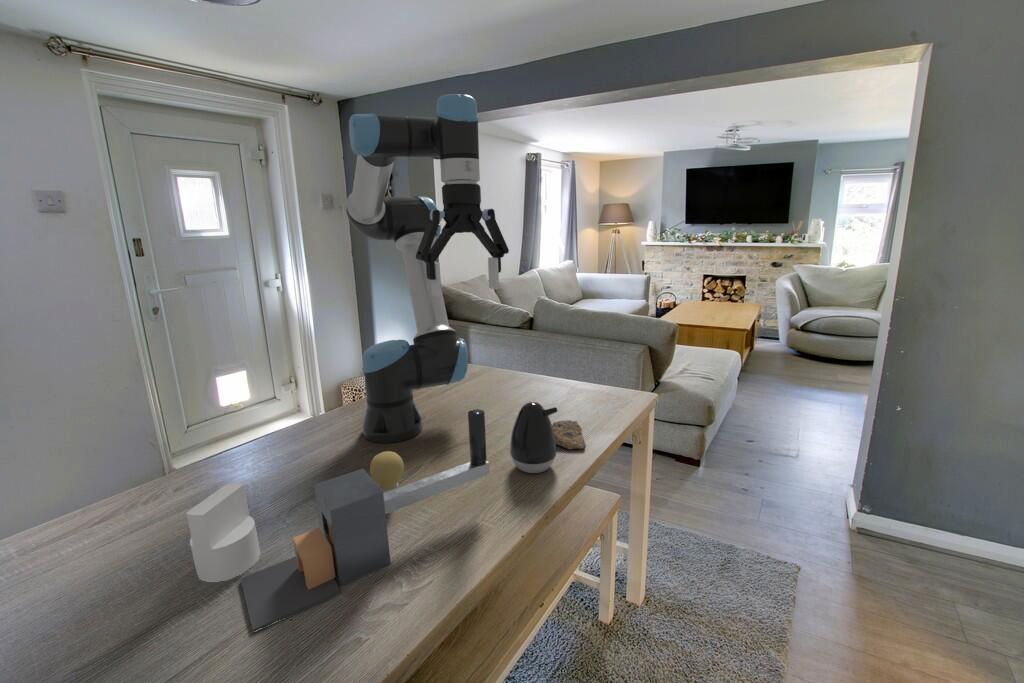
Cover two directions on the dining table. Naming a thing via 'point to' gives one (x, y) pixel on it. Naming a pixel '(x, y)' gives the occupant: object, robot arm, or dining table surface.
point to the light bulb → (387, 470)
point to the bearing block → (353, 524)
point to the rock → (568, 434)
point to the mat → (281, 593)
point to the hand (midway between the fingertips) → (466, 292)
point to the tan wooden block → (314, 557)
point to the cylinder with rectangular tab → (223, 534)
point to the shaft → (449, 477)
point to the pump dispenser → (533, 439)
